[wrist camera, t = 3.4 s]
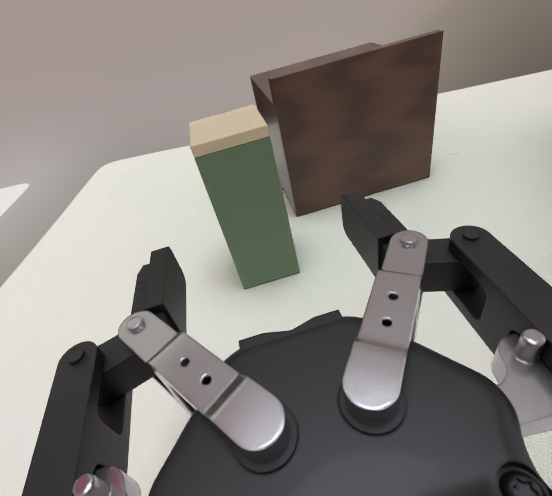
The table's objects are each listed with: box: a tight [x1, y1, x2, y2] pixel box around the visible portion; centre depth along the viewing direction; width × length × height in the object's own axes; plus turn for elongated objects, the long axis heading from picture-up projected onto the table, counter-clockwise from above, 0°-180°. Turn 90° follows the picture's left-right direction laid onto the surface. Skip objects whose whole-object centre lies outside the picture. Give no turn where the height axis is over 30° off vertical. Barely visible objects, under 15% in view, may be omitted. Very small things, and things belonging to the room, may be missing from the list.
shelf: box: [250, 30, 443, 216], centre depth 37 cm, size 15×14×14 cm
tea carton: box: [189, 105, 300, 289], centre depth 27 cm, size 5×5×13 cm
